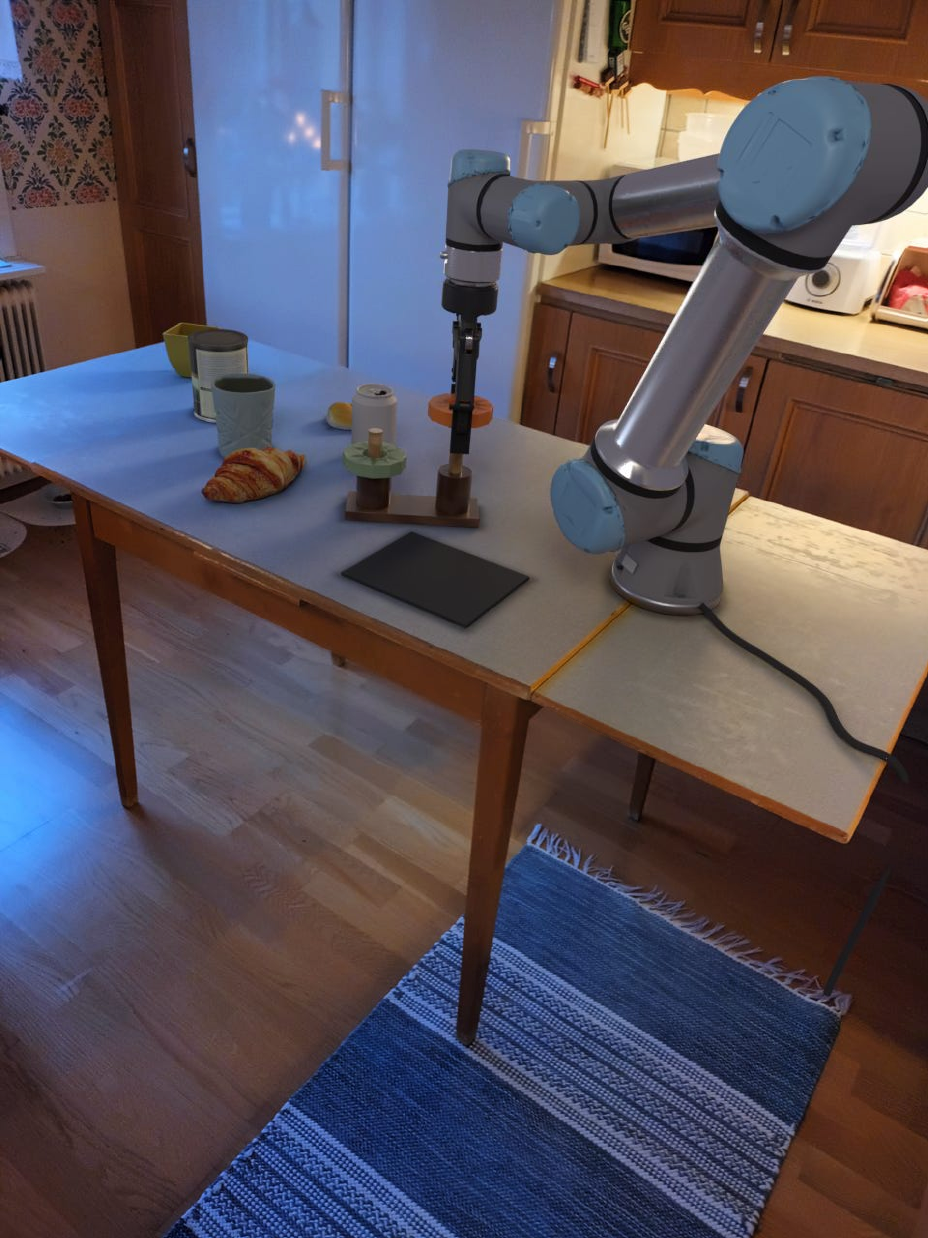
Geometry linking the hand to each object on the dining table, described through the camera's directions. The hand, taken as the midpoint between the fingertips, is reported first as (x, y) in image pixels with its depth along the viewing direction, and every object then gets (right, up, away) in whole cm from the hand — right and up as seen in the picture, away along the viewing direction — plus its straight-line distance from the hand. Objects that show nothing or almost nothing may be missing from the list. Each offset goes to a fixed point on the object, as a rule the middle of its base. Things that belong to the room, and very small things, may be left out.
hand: (458, 439), depth 135 cm
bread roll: (-20, +10, +36) cm, 42 cm away
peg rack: (-7, -10, +6) cm, 14 cm away
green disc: (-12, -4, +2) cm, 13 cm away
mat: (-3, -21, -9) cm, 23 cm away
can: (-15, +2, +24) cm, 28 cm away
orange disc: (0, +3, -2) cm, 3 cm away
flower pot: (-53, +23, +52) cm, 78 cm away
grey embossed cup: (-36, +2, +21) cm, 42 cm away
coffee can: (-44, +11, +35) cm, 57 cm away
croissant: (-31, -6, +10) cm, 33 cm away
